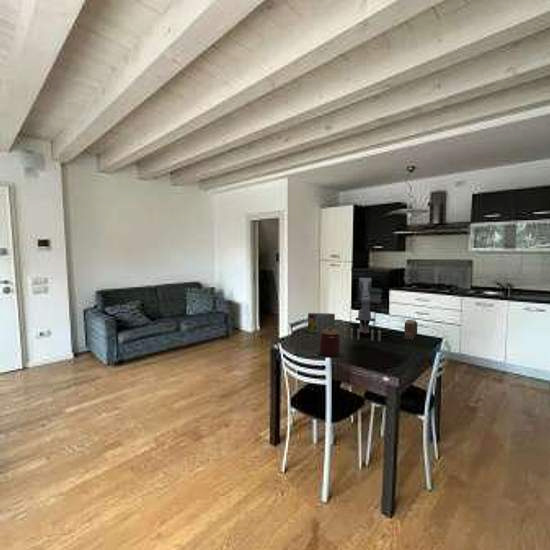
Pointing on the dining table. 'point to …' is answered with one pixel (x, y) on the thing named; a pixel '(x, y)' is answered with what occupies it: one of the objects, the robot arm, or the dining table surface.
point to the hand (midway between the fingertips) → (364, 329)
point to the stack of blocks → (410, 329)
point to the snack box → (320, 321)
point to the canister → (330, 342)
